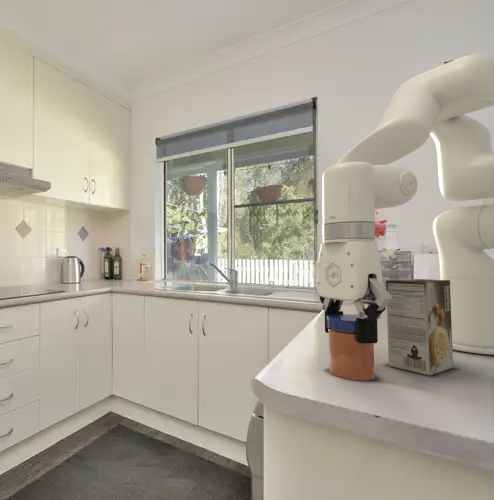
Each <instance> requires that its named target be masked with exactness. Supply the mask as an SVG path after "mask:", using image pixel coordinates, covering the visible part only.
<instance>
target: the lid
mask: <svg viewBox="0 0 494 500" xmlns="http://www.w3.org/2000/svg"><path fill="white" fill-rule="evenodd" d="M356 318H360V317H359V314H351V313H350V314H348V313H343V314H331V315H327V327H328V328H330V329H334V330H338V331H345V332H356Z"/></svg>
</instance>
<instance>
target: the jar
mask: <svg viewBox="0 0 494 500" xmlns="http://www.w3.org/2000/svg"><path fill="white" fill-rule="evenodd" d="M327 334H328V357H329V372H330V373H331V374H332V375H334V376H337V377H339V378H342V379H347V380H352V381H363V382H364V381H372V380H374V379H375V378H376V372H375V371H376V370H375V347H374V345H375V343H358V342H357V341H356V332H345V331H338V330H334V329H330V328H328V333H327Z"/></svg>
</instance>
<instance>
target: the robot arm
mask: <svg viewBox="0 0 494 500" xmlns="http://www.w3.org/2000/svg"><path fill="white" fill-rule="evenodd" d="M490 107H491V108H492V107H494V54H491V53H472V54H467V55H463V56H461V57H458V58H456V59H455V58H454V59H453V60H450V61H449V62H448V61H447V62H446V63H444V64H441V65H439V66H436V67H434V68H430V69H429V70H427V71H425V72H422V73H419V74H417V75H415V76H413V77H411V78H409V79H407V80H406V81H404V82H403V83H402V84H401V85H400V86H399V88H397V90H396V91H395V93H394V95H393V96H392V98H391V101H390V103H389V104H388V106H387V107H386V110H385V112H384V114H383V116H382V117H381V120H380V122H379V123H378V126H377V127H376V128H375V129H374V130H373V131H371V132H370V133H368V134H367V135H366V136H365V137H363V138H362V139H361V140H360V141H358V142H357V143H355V145H353V146H352V147H351V148H350V149H349V150H347V151H346V152H345V153H344V154H343V155H342V156H341V157H340V158H339V159H338V160H337V161H336V163H335V164H334V165H331V166H329V167H327V168H326V169H325V170H324V171H323V173H322V243H321V244H320V249H319V254H318V261H317V273H316V287H315V292H316V293H317V295H318V297H319V301H320V302H321V304H322V306H321V307H322V310H323V311H324V332H325V334H328V327H327V315H331V314H344V311H343V310H341V309H342V306H343V303H344V302H353V303H354V306H355V308H356V312H357V315H359V317H360V318H356V341H357V342H358V343H374V344H377V343H378V341H379V340H378V334H379V333H378V320H379V319H381V317H382V313H384V311H386V310H387V305H388V304H389V303H390V302H391V301H392V296H391V295H390V294H389V293H388V291H387V290H386V287H384V286H383V271H382V262H381V256H380V251H379V247H378V243H377V241H376V210H383V209H387V208H395V207H399V206H402V205H404V204H405V205H406V203H408V202H409V201H411V200H412V199H413V198H414V197H415V195H416V193H417V191H418V185H419V184H418V179H417V176H416V175H415V173H414V172H413V171H412V170H411V169H409V168H408V167H406V166H403V165H400V164H393V163H394V162H396V161H399V160H400V159H402V158H405V157H406V156H408V155H410V154H411V153H413V152H416V150H418V149H419V148H421V147H422V146H423V145H424V144H425V143H426V142H427V141H428V139H429V137H431V138H432V140H433V141H434V144H435V148H436V155H437V157H436V158H437V172H438V185H439V190H440V193H441V197H443V198H444V199H445V200H447V201H450V202H465V201H475V200H484V199H485V200H486V199H491V198H494V151H493V150H492V149H493V148H492V140H491V131H490V129H489V128H488V126H486V125H485V124H483V122H481V121H479V120H477V119H475V118H473V117H471V116H468V115H467V114H470V113H474V112H478V111H480V110H484V109H487V108H490ZM432 232H433V236H434V240H435V244H436V248H437V253H438V263H439V280H450V298H451V323H452V350H453V351H458V352H464V353H471V354H480V355H488V356H489V355H490V356H494V259H493V258H492V257H491V256H490V255H489V254H488V253H486V251H485V250H491V249H494V203H491V204H479V205H469V206H462V207H454V208H451V209H448V210H445V211H442V212H441V213H439V214H437V216H435V218H434V220H433V222H432ZM365 305H367V307H366V306H365Z"/></svg>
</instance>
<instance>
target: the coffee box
mask: <svg viewBox="0 0 494 500" xmlns="http://www.w3.org/2000/svg"><path fill="white" fill-rule="evenodd" d="M385 289H386V290H387V291H388V293H389V294H390V295H391V296H392V301H391V302H390V303H389V304H388V305H387V306H386V322H387V324H386V325H387V354H388V355H387V356H388V366H389V367H391V368H395V369H401V370H404V371H409V372H413V373H418V374H421V375H425V376H433V375H435V374H439V373H442V372H444V371H447V370H451V369H453V368H454V357H453V355H454V353H453V352H454V350H453V349H452V323H451V298H450V280H440V279H426V278H425V279H424V278H405V279H404V278H402V279H401V278H400V279H387V280H385Z"/></svg>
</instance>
